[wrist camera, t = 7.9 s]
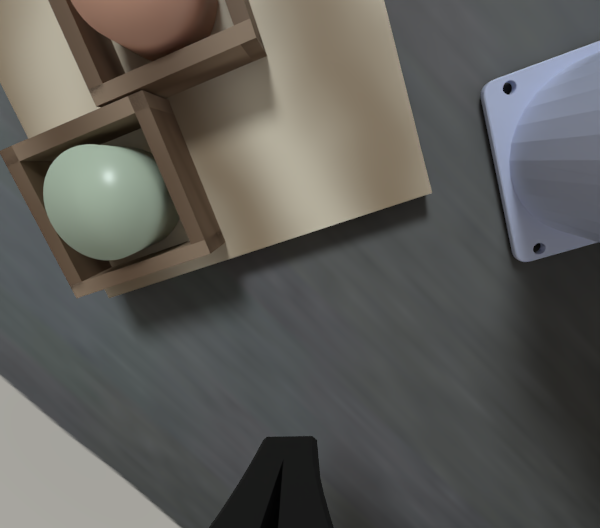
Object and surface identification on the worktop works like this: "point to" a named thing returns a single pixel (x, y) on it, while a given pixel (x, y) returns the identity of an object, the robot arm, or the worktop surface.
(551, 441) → the worktop surface
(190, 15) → the terracotta button
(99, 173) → the sage button
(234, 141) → the button panel
